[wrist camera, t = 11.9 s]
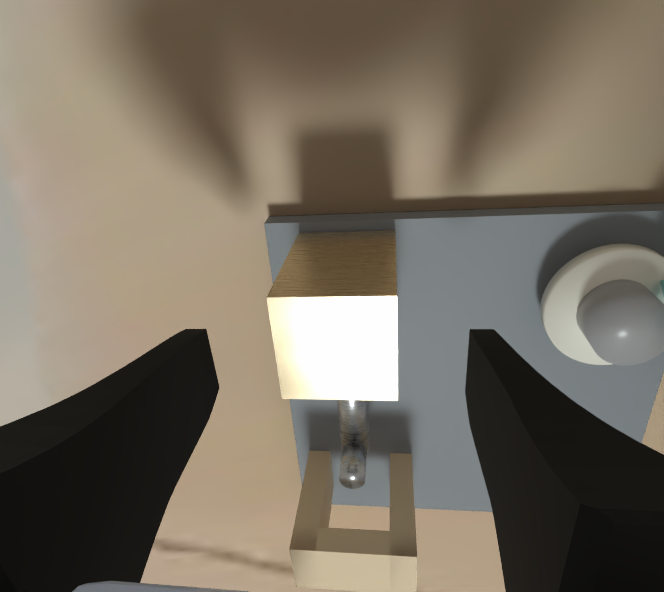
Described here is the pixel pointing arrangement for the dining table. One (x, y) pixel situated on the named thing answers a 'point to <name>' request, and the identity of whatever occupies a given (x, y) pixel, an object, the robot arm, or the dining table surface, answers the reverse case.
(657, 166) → the dining table surface
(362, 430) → the beige rectangular block
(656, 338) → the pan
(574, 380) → the grey dial panel
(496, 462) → the robot arm
